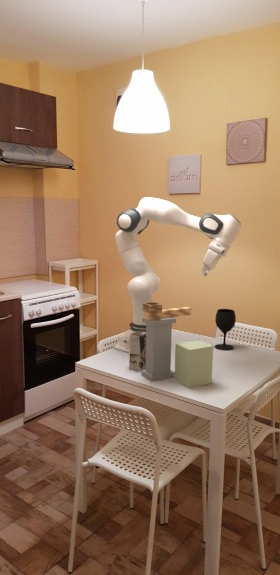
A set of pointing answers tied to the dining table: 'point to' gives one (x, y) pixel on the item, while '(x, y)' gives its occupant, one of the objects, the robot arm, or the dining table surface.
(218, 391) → the dining table surface
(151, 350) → the tower
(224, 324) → the wine glass
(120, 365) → the dining table surface
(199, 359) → the box
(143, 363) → the coffee box
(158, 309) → the catapult arm
